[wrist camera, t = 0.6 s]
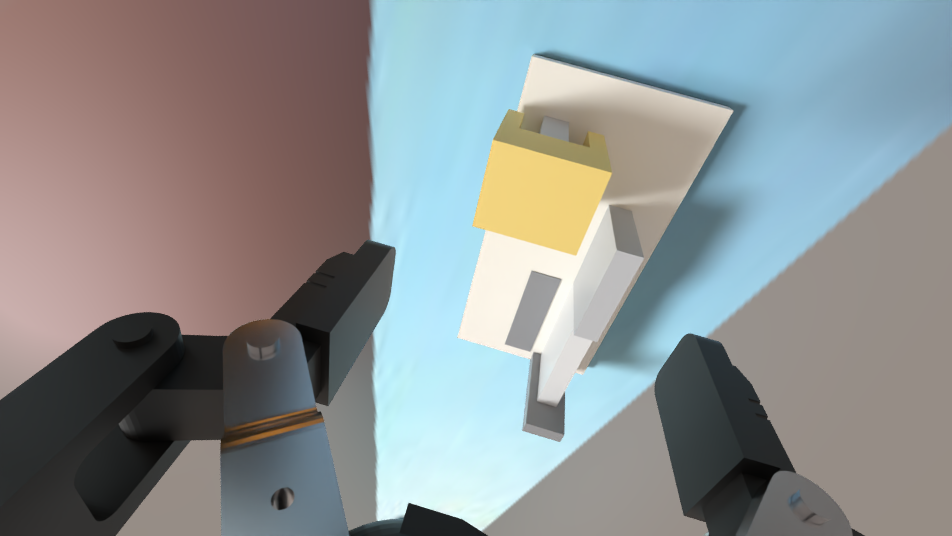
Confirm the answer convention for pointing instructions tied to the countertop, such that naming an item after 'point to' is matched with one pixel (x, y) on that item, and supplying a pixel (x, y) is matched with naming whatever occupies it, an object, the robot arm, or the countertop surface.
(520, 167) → the yellow block
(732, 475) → the robot arm
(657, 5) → the countertop surface
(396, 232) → the countertop surface
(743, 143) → the countertop surface
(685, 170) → the rail plate
